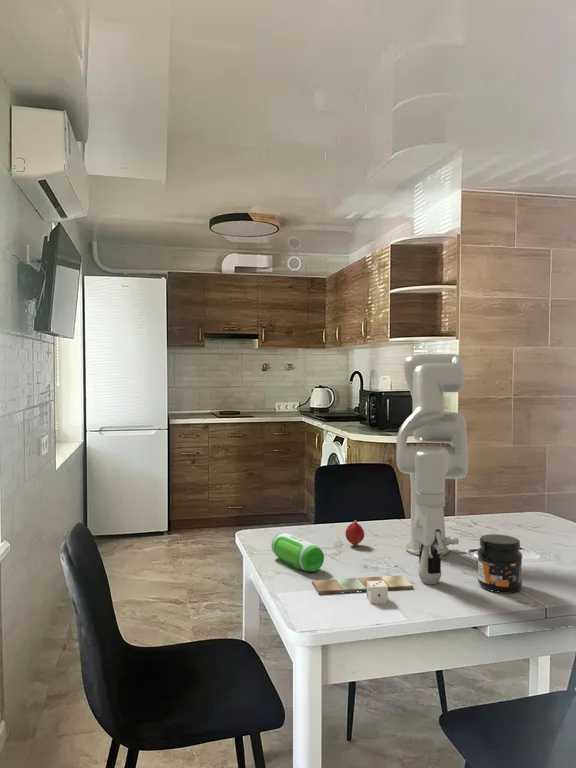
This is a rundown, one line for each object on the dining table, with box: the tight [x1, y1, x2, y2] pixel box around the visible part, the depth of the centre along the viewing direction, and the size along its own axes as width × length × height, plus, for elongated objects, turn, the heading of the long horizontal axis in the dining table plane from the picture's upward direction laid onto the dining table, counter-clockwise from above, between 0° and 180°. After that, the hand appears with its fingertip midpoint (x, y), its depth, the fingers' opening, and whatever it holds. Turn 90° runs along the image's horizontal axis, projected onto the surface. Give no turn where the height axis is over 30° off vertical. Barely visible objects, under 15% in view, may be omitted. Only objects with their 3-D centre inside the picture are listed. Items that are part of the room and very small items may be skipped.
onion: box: [344, 520, 365, 547], centre depth 184 cm, size 6×6×8 cm
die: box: [366, 581, 389, 605], centre depth 139 cm, size 4×4×4 cm
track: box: [311, 575, 414, 596], centre depth 149 cm, size 24×8×1 cm, turn 99°
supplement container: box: [477, 533, 523, 593], centre depth 148 cm, size 10×10×12 cm
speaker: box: [271, 532, 325, 573], centre depth 166 cm, size 18×7×8 cm, turn 32°
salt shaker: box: [417, 543, 442, 585], centre depth 151 cm, size 6×6×13 cm
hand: (429, 568), depth 151 cm, fingers open, 4 cm apart
